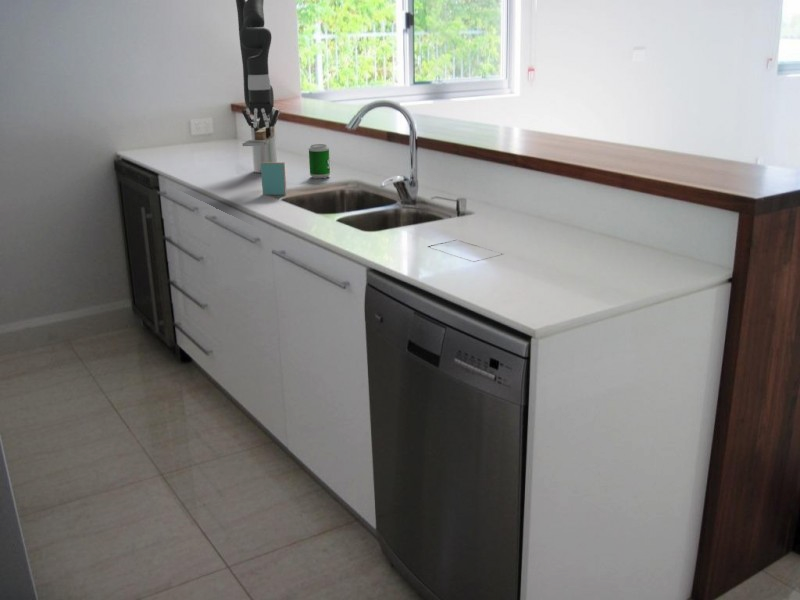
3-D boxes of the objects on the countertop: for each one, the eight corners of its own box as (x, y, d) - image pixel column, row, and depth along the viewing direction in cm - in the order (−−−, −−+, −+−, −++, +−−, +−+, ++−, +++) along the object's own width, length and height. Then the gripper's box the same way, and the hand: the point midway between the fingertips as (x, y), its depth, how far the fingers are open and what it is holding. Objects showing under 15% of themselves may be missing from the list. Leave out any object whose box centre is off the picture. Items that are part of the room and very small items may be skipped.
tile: (263, 194, 272) (261, 162, 268) (286, 194, 271) (284, 162, 267) (262, 194, 270) (260, 162, 267) (285, 195, 270) (283, 162, 266)
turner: (260, 136, 289) (260, 126, 288) (279, 136, 288) (278, 126, 287) (242, 146, 268) (241, 135, 267) (262, 146, 268) (261, 135, 266)
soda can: (326, 179, 295) (325, 147, 291) (307, 178, 296) (305, 146, 292) (332, 175, 302) (331, 143, 298) (313, 175, 303) (312, 143, 299)
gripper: (281, 86, 277) (285, 136, 282) (243, 87, 278) (246, 136, 284) (276, 88, 270) (279, 140, 275) (236, 89, 271) (240, 139, 277)
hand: (263, 138), depth 280 cm, fingers closed on turner, 3 cm apart
